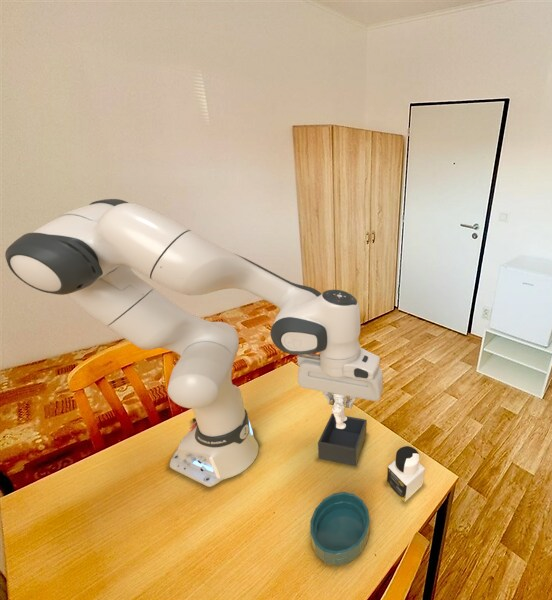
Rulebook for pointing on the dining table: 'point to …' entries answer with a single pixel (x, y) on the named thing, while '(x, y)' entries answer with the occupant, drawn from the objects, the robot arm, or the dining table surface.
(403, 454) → the medicine bottle
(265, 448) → the dining table surface
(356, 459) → the bin
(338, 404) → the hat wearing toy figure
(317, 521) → the bowl
